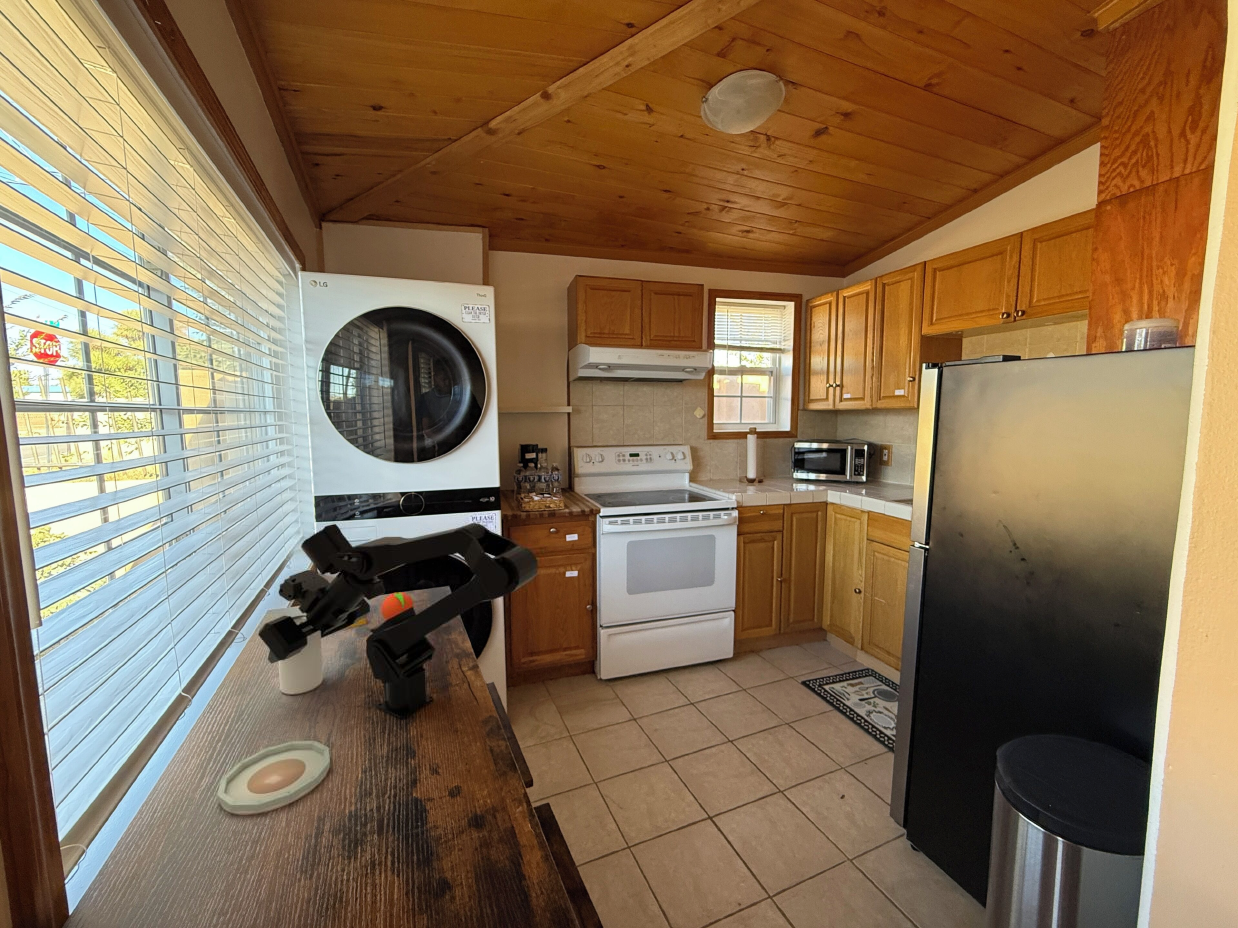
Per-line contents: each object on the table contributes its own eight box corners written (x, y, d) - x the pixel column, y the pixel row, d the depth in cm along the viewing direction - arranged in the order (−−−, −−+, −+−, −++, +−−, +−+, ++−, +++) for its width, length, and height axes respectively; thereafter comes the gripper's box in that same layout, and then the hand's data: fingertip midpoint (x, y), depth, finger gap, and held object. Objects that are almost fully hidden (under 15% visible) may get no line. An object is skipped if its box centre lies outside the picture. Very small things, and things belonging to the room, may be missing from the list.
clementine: (420, 624, 117) (419, 594, 117) (388, 632, 113) (387, 601, 112) (408, 613, 123) (407, 585, 123) (377, 621, 119) (376, 591, 118)
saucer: (348, 766, 69) (348, 757, 69) (250, 829, 59) (250, 818, 59) (298, 739, 75) (297, 731, 75) (200, 792, 64) (200, 782, 64)
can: (331, 677, 93) (328, 614, 92) (306, 696, 86) (302, 629, 85) (298, 675, 94) (294, 612, 92) (271, 694, 87) (266, 627, 86)
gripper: (354, 545, 96) (309, 596, 100) (264, 574, 78) (212, 636, 82) (392, 589, 95) (344, 639, 98) (309, 629, 77) (255, 689, 80)
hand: (293, 648), depth 90 cm, fingers open, 9 cm apart
